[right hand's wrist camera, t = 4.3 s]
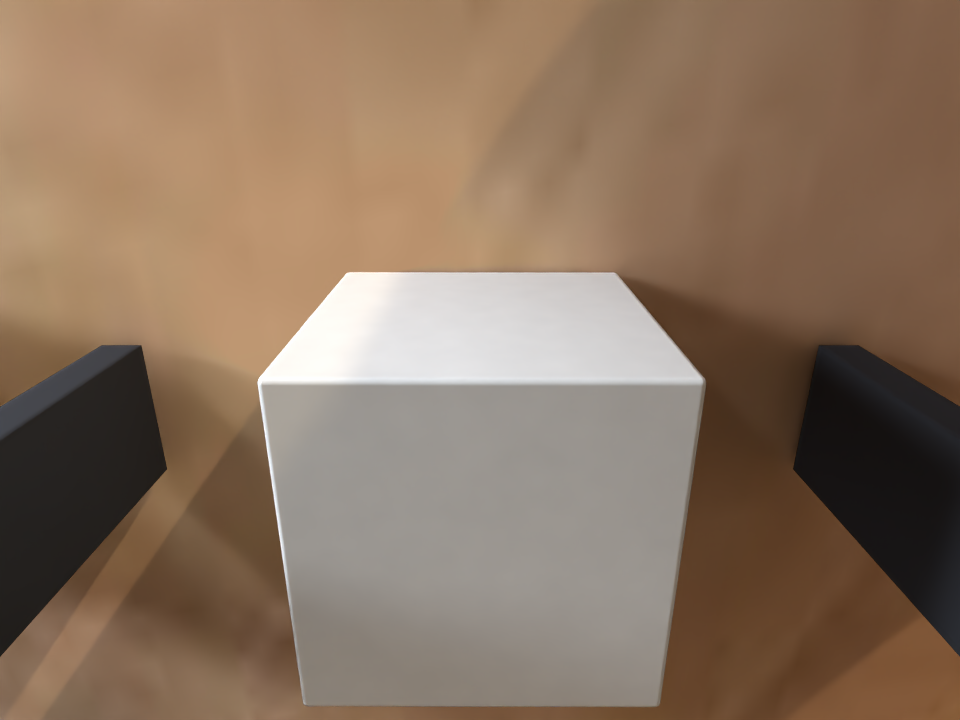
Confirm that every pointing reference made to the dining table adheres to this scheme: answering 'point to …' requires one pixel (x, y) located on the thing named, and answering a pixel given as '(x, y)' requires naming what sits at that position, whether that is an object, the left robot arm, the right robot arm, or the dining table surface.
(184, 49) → the dining table surface
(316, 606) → the cream block
